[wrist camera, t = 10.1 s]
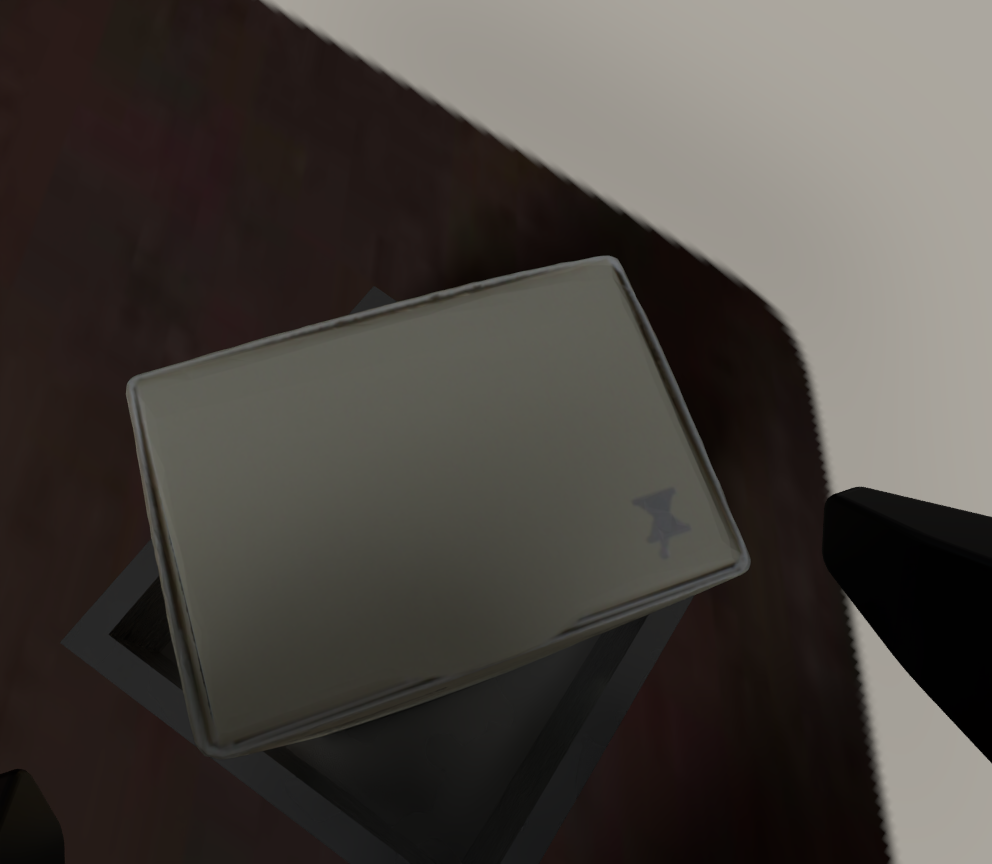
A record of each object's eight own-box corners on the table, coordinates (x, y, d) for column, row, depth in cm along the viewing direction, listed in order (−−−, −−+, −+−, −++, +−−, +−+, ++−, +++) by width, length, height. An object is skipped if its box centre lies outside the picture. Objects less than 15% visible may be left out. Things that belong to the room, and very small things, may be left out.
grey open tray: (664, 568, 22) (731, 530, 18) (458, 911, 19) (481, 963, 15) (374, 366, 23) (374, 285, 19) (128, 660, 20) (60, 642, 16)
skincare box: (504, 492, 22) (642, 232, 10) (561, 655, 21) (790, 563, 9) (258, 567, 20) (104, 361, 9) (305, 746, 19) (196, 773, 8)
